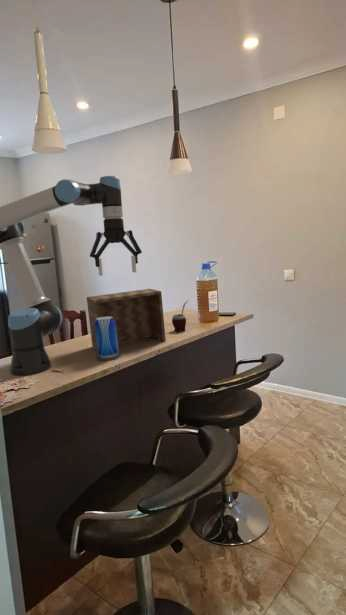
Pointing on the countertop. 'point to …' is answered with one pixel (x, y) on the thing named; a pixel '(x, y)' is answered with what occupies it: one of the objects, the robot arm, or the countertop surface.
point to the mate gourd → (179, 321)
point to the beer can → (106, 337)
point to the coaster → (108, 358)
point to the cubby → (129, 314)
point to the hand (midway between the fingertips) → (117, 273)
